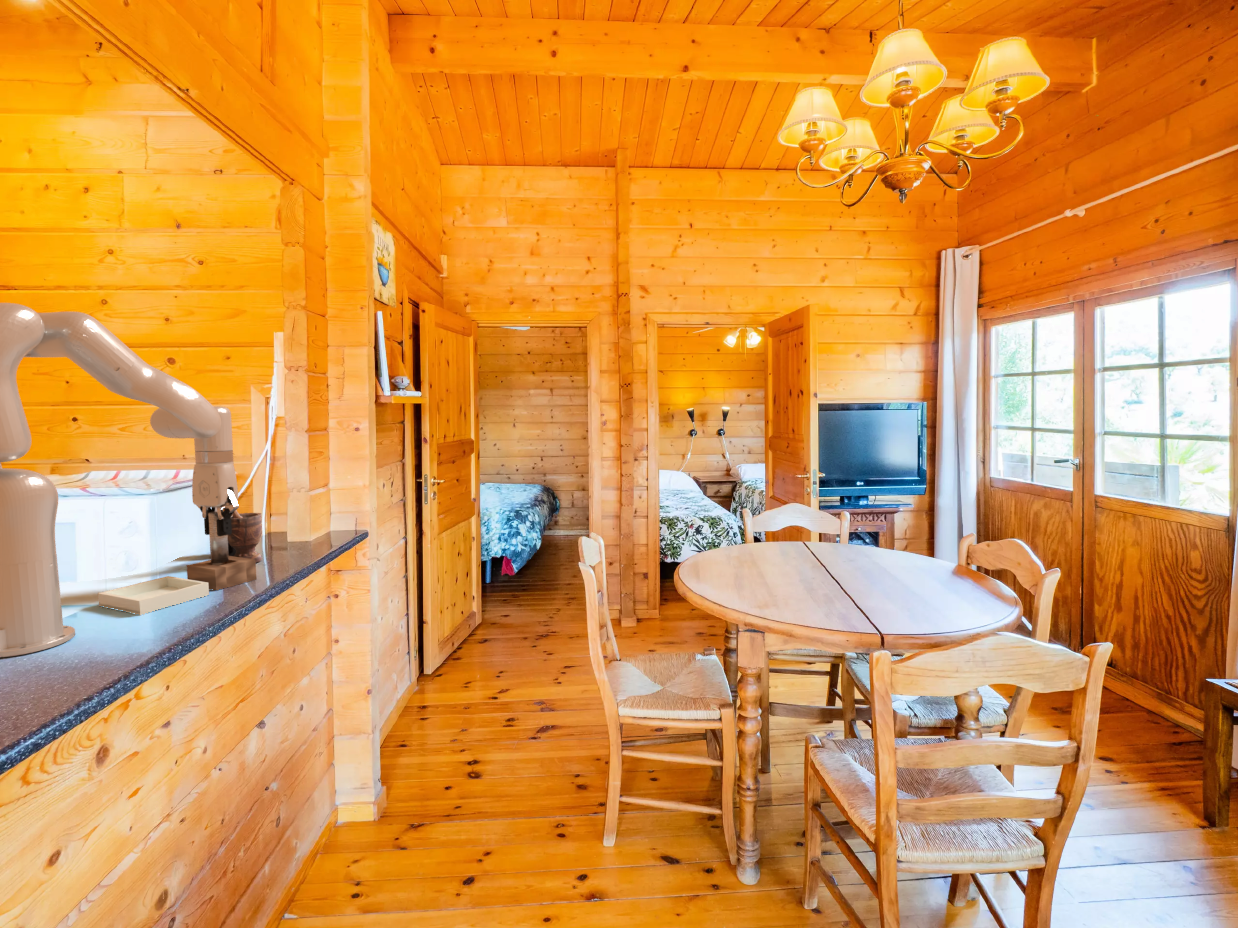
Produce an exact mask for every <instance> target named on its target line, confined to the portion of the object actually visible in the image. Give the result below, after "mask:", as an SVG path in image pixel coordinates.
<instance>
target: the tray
mask: <svg viewBox="0 0 1238 928" xmlns="http://www.w3.org/2000/svg"><path fill="white" fill-rule="evenodd" d="M207 595H209V596H210V590H209V585H208V582H202V581H196V580H189V579H187V578H182V577H176V576H171V575H168V576H167V575H166V576H163V577H159V578H154V579H151V580H146V581H143V582H139V583H135V584H129V585H126V586H122V587H118V588H114V589H109V590H105V591H102V592H101V591H100V592H98V593H97V599H98V607H99V606H104V607H108V608H114V609H118V610H123V611H126V612H131V613H135V614H134V615H136V614H139V615H138V616H143V615H146V614H145V613H147V614H149V613H148V612H150V613H153V612H152V611H154V612H156V611H155V610H157V611H159V610H158V609H161V608H164V609H166V608H165V607H168V606H171V607H173V606H172V605H175V606H177V605H176V604H178V605H181V604H180V603H182V604H184V603H183V602H185V603H187V602H186V601H188V602H190V601H189V600H192V601H194V600H193V599H195V600H197V599H196V598H199V599H201V598H200V597H202V598H205V597H204V596H206V597H208V596H207ZM168 608H169V607H168ZM161 610H162V609H161ZM126 612H125V613H126ZM131 613H130V614H131ZM142 614H143V615H142Z"/></svg>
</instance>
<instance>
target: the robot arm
mask: <svg viewBox="0 0 1238 928" xmlns="http://www.w3.org/2000/svg"><path fill="white" fill-rule="evenodd" d="M23 358H67V359H69V360H70V361H72V362H73V363H74V364H76V366H78V367H79V368H80V369H82V370H83V371H84V372H86V373H87V374H88V375H90V376H91V377H92V378H93V379H94V380H96V382H98V383H100V384H101V385H102V386H103V387H105V388H106V389H107V390H108V391H110V392H112V393H114V394H116V395H119V396H121V397H125V398H128V399H130V400H134V401H138V402H142V403H147V404H150V405H151V406H155V407H157V409H156V410H154V411H153V413H152V414H151V416H150V420H149V421H150V425H151V426H150V427H151V428H152V430H153V431H154V432H155V433H156V434H158V435H160V436H161V437H165V438H167V439H194V442H193V443H194V459H195V460H194V461H195V464H194V466H193V471H192V482H191V483H192V488H191V489H192V491H191V492H192V493H191V494H192V495H191V496H192V503H193V505H195V506H196V507H197V508H198V509H199V510H200V512H201V514H202V515H201V516H202V518H203V521H204V523H203V525H204V535H206V536H209V517H208V513H209V512H215V511H217V512H218V518H219V519H218V520H216V521H217V535H218V536H224V535H230V534H232V526H231V518H232V517H233V513H234V511H235V510H237V511H238V510H239V507H240V506H239V504H238V501H239V492H238V489H239V488H238V482H237V481H238V480H237V473H236V469H235V466H234V448H233V424H232V412H231V410H230V409H229V408H228V407H226V406H217V405H215V406H214V405H213V404H212V403H211V402H210V401H208V399H206V397H204V396H203V395H202V394H201V393H200V392H199V391H197V390H196V389H195V388H193V387H192V386H190V385H189V384H187V383H185V382H184V381H181V380H179V379H178V378H176V377H174V376H172V375H170V374H168V373H166V372H164V371H163V370H160V369H158V368H156V367H154V366H152V365H150V364H148V363H147V362H146V361H144V360H143V359H142V358H141V357H140V356H139V355H138V354H137V353H136V352H135V351H133V350H132V349H131V348H129V346H127V345H126V344H125V343H124V342H123V341H122V340H121V339H119V337H117V336H116V335H115V334H114V333H113V332H112V331H110V329H108V328H107V327H106V326H105V325H104V324H103V323H101V322H100V321H99V320H97V319H96V318H95V317H93V316H91V315H90V314H87V313H85V312H80V311H54V312H53V311H52V312H37V311H35V310H34V309H32V308H31V307H29V306H26V305H23V304H20V303H14V302H12V303H11V302H0V658H7V657H8V658H10V657H15V656H22V655H26V654H31V653H35V652H39V651H43V650H48V649H51V648H53V647H57V646H60V645H62V644H64V643H66V642H68V641H71V640H72V639H73V638H74V637H75V636H76V629H75V628H74V627H73V626H71V625H64V622H63V610H62V598H61V590H60V589H61V587H60V586H61V585H60V576H59V566H58V565H59V564H58V557H57V556H58V555H57V548H56V545H57V543H56V518H57V513H58V506H59V494H58V489H57V487H56V485H55V484H54V482H52V480H51V479H50V478H49V477H47V476H45V475H44V474H42V473H40V472H36V471H34V470H31V469H30V470H29V469H25V468H8V467H7V468H3V466H2V463H6V462H7V463H9V462H12V461H16V460H19V459H21V458H22V457H24V456H25V455H27V453H28V452H29V451H30V449H31V446H32V434H31V430H30V427H29V423H28V420H27V417H26V413H25V410H24V407H23V404H22V403H23V402H22V400H21V396H20V393H19V387H18V383H17V371H18V368H19V365H20V364H21V361H22V360H23ZM222 504H225V505H224V506H221V505H222ZM223 508H226V509H225V510H224V509H223Z"/></svg>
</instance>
